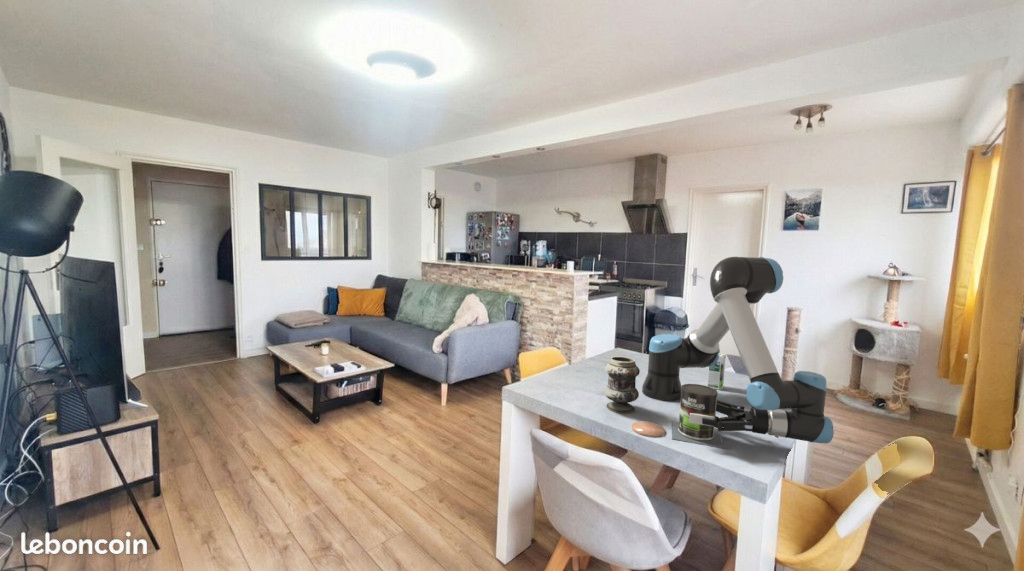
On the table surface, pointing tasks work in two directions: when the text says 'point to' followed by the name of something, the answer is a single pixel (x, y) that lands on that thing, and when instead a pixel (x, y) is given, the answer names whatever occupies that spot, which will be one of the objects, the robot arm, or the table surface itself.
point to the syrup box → (717, 373)
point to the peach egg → (648, 429)
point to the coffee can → (697, 410)
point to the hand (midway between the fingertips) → (688, 409)
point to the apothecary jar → (621, 384)
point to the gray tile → (713, 442)
